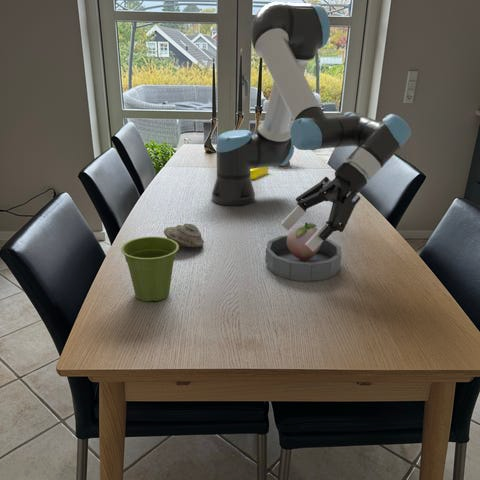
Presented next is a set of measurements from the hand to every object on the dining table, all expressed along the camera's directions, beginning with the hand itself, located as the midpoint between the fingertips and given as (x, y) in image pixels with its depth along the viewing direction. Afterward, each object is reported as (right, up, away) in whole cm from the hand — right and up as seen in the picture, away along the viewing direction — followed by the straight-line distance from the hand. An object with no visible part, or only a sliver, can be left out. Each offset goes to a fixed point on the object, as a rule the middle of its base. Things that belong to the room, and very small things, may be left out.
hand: (295, 237), depth 112 cm
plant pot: (-32, -13, -11) cm, 36 cm away
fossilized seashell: (-29, -3, +12) cm, 31 cm away
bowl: (+2, -7, +4) cm, 8 cm away
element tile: (-11, +27, +85) cm, 90 cm away
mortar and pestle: (+4, +33, +101) cm, 106 cm away
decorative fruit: (+2, -6, +4) cm, 7 cm away
